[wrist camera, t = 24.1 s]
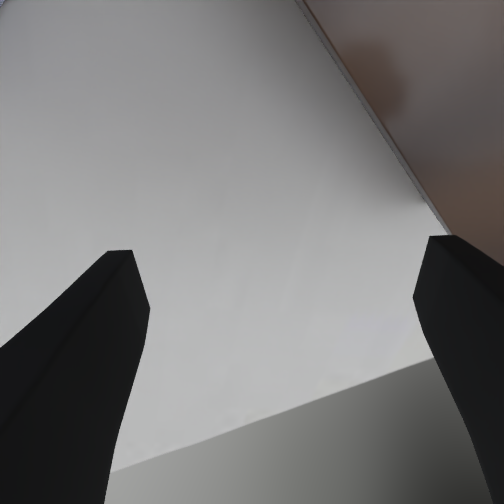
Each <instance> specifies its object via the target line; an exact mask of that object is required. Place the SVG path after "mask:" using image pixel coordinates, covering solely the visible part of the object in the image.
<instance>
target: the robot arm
mask: <svg viewBox="0 0 504 504" xmlns="http://www.w3.org/2000/svg"><path fill="white" fill-rule="evenodd" d="M4 1H5V0H0V7H1V5H2V4H3V2H4ZM413 301H414V304H415V308H416V311H417V314H418V318H419V321H420V324H421V327H422V330H423V333H424V336H425V338H426V340H427V343H428V345H429V347H430V349H431V351H432V354H433V356H434V358H435V360H436V362H437V364H438V366H439V369H440V371H441V373H442V375H443V377H444V379H445V381H446V383H447V386H448V388H449V390H450V392H451V394H452V396H453V399H454V401H455V403H456V405H457V407H458V409H459V411H460V414H461V416H462V418H463V420H464V423H465V425H466V427H467V430H468V432H469V434H470V437H471V440H472V442H473V445H474V448H475V451H476V454H477V457H478V459H479V462H480V465H481V468H482V471H483V474H484V476H485V480H486V483H487V485H488V489H489V492H490V495H491V498H492V501H493V504H504V266H502V265H501V264H500V263H498V262H497V261H495V260H494V259H492V258H491V257H489V256H488V255H486V254H485V253H483V252H482V251H480V250H479V249H477V248H476V247H474V246H473V245H471V244H470V243H468V242H467V241H465V240H464V239H462V238H460V237H459V236H457V235H440V236H429V240H428V244H427V247H426V251H425V254H424V258H423V262H422V265H421V269H420V272H419V276H418V280H417V283H416V287H415V291H414V294H413ZM149 313H150V306H149V303H148V300H147V296H146V293H145V290H144V287H143V283H142V280H141V277H140V274H139V270H138V267H137V264H136V261H135V258H134V254H133V251H132V250H116V251H107V252H106V253H105V254H104V255H102V256H101V257H100V258H99V259H98V260H97V261H96V262H95V263H94V264H93V265H92V266H91V267H90V268H88V269H87V270H86V271H85V272H84V273H83V274H82V275H81V276H80V277H79V278H78V279H77V280H76V281H75V282H74V283H73V284H72V285H71V286H70V287H69V288H68V289H66V290H65V291H64V292H63V293H62V294H61V295H60V296H59V297H58V298H57V299H56V300H55V301H54V302H53V303H52V304H50V305H49V306H48V307H47V308H46V309H45V310H44V311H43V312H42V313H40V314H39V315H38V316H37V317H36V318H35V319H34V320H32V321H31V322H30V323H29V324H28V325H27V326H25V327H24V328H23V329H22V330H21V331H20V332H18V333H17V334H16V335H15V336H14V337H13V338H11V339H10V340H9V341H8V342H7V343H6V344H4V345H3V346H2V347H1V348H0V504H104V501H105V495H106V490H107V485H108V480H109V474H110V469H111V464H112V459H113V454H114V449H115V445H116V441H117V437H118V433H119V429H120V426H121V422H122V419H123V416H124V412H125V409H126V406H127V402H128V399H129V396H130V392H131V389H132V386H133V382H134V379H135V376H136V372H137V369H138V366H139V362H140V359H141V355H142V352H143V348H144V345H145V339H146V333H147V327H148V320H149Z"/></svg>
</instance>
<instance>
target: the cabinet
mask: <svg viewBox="0 0 504 504" xmlns="http://www.w3.org/2000/svg"><path fill="white" fill-rule="evenodd" d="M295 2H296V3H297V5H298V6H299V8H300V9H301V11H302V13H303V14H304V16H305V17H306V19H307V20H308V22H309V23H310V25H311V26H312V28H313V29H314V31H315V33H316V34H317V36H318V37H319V39H320V40H321V42H322V43H323V45H324V46H325V48H326V49H327V51H328V52H329V54H330V56H331V57H332V59H333V60H334V62H335V63H336V65H337V66H338V68H339V69H340V71H341V72H342V74H343V76H344V77H345V79H346V80H347V82H348V83H349V85H350V86H351V88H352V89H353V91H354V92H355V94H356V96H357V97H358V99H359V100H360V102H361V103H362V105H363V106H364V108H365V109H366V111H367V112H368V114H369V116H370V117H371V119H372V120H373V122H374V123H375V125H376V126H377V128H378V129H379V131H380V132H381V134H382V135H383V137H384V139H385V140H386V142H387V143H388V145H389V146H390V148H391V149H392V151H393V152H394V154H395V155H396V157H397V159H398V160H399V162H400V163H401V165H402V166H403V168H404V169H405V171H406V172H407V174H408V175H409V177H410V179H411V180H412V182H413V183H414V185H415V186H416V188H417V189H418V191H419V192H420V194H421V195H422V197H423V199H424V200H425V202H426V203H427V205H428V206H429V208H430V209H431V210H432V212H433V213H434V215H435V216H436V218H437V219H438V221H439V222H440V223H441V225H442V226H443V228H444V229H445V231H446V232H447V234H448V235H457V236H459V237H460V238H462V239H464V240H465V241H467V242H468V243H470V244H471V245H473V246H474V247H476V248H477V249H479V250H480V251H482V252H483V253H485V254H486V255H488V256H489V257H491V258H492V259H494V260H495V261H497V262H498V263H500V264H501V265H502V266H504V0H295Z"/></svg>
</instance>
